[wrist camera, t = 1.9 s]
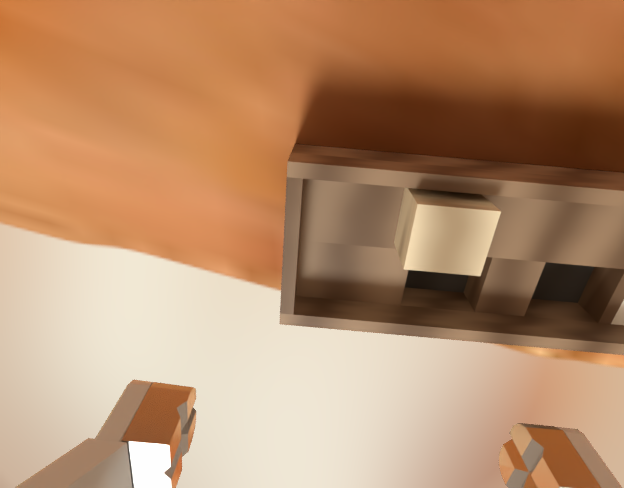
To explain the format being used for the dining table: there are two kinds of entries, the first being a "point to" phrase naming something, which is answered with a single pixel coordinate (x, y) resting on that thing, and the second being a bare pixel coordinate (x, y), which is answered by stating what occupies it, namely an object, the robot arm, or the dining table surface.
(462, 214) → the birch block
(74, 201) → the dining table surface
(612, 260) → the trap channel
